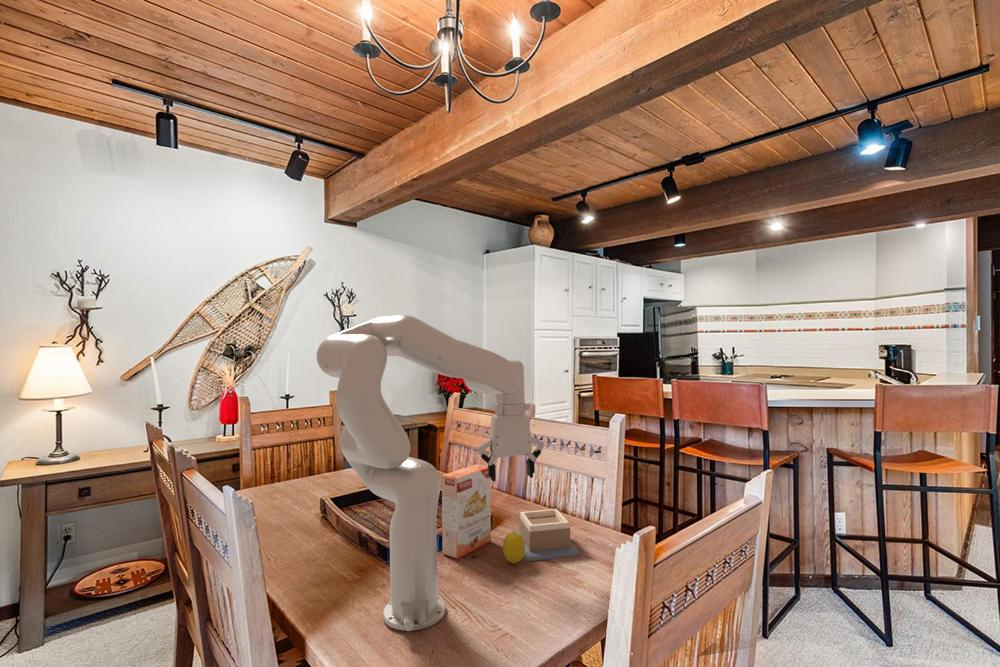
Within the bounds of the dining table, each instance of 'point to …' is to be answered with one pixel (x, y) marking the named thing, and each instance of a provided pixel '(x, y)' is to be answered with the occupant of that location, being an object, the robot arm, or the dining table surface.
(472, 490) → the cracker box
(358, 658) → the dining table surface
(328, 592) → the dining table surface
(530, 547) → the stand
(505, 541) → the lemon
